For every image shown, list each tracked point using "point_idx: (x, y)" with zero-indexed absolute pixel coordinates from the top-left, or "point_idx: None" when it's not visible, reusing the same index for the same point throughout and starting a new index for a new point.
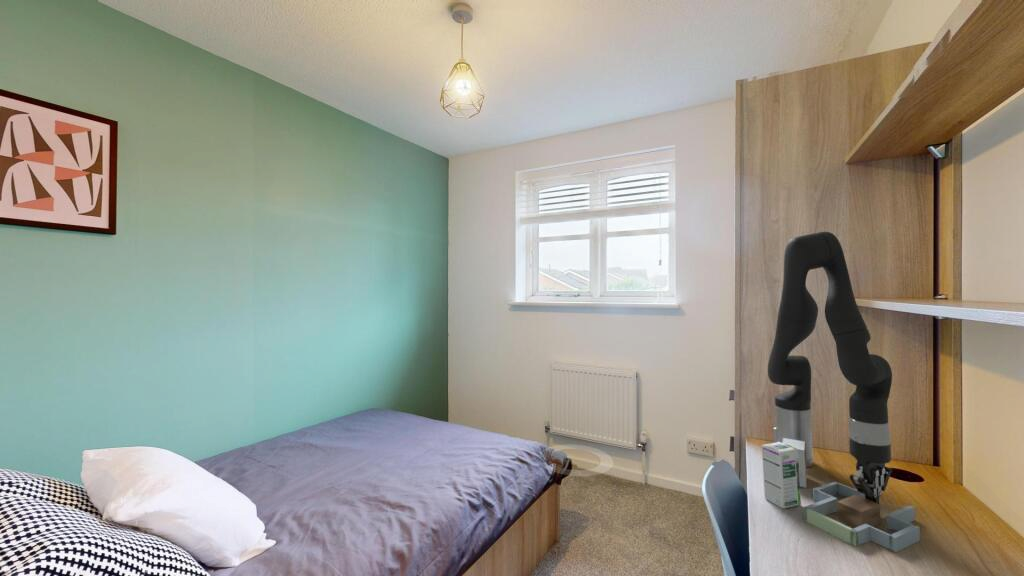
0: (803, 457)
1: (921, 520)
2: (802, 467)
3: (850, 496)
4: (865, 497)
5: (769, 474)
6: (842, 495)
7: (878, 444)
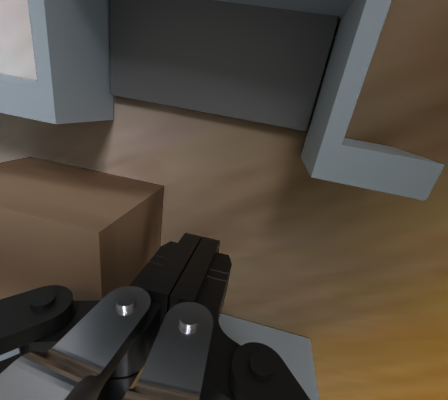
0: None
1: (322, 364)
2: None
3: (38, 219)
4: (135, 280)
5: None
6: (327, 54)
7: None
